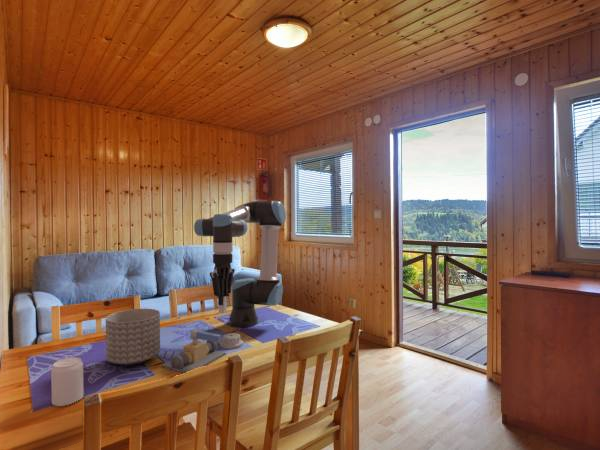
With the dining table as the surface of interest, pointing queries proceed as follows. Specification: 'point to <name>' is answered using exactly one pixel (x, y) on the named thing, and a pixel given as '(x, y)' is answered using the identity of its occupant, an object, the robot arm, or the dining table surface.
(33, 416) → the dining table surface
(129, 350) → the planter
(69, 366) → the beverage can
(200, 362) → the valve assembly
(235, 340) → the mechanical component
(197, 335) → the lever
